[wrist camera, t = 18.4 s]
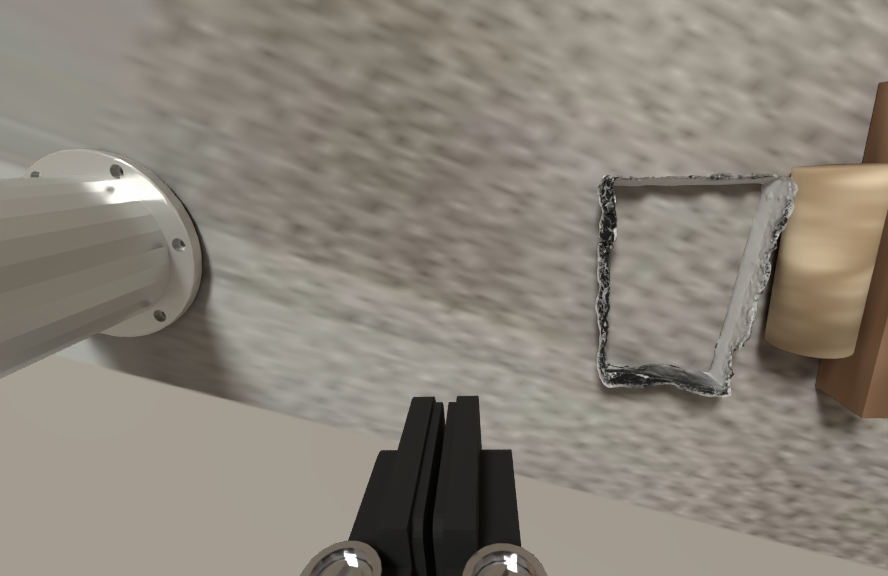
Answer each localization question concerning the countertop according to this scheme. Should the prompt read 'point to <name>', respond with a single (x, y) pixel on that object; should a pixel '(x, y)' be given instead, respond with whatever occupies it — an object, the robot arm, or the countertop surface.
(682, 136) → the countertop surface
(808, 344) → the roller
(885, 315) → the stop rail
